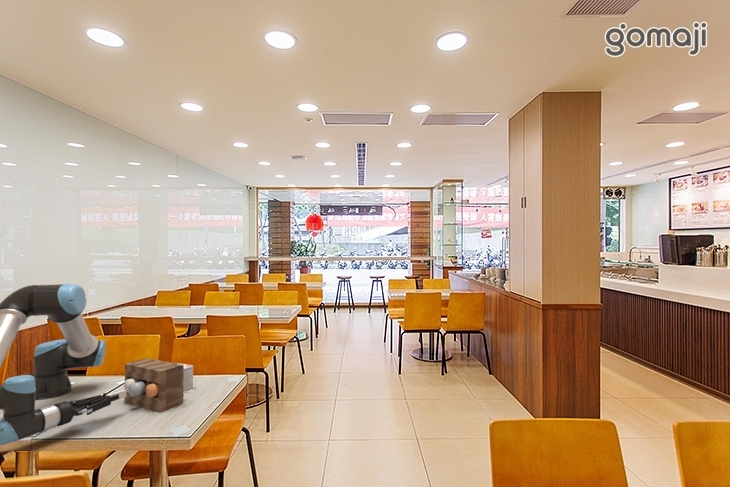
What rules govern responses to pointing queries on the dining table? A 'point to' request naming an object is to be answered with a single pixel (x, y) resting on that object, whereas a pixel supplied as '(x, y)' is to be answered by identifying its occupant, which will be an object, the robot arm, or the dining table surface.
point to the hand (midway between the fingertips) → (125, 393)
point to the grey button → (137, 388)
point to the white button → (131, 381)
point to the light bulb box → (187, 377)
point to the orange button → (152, 390)
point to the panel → (160, 373)
